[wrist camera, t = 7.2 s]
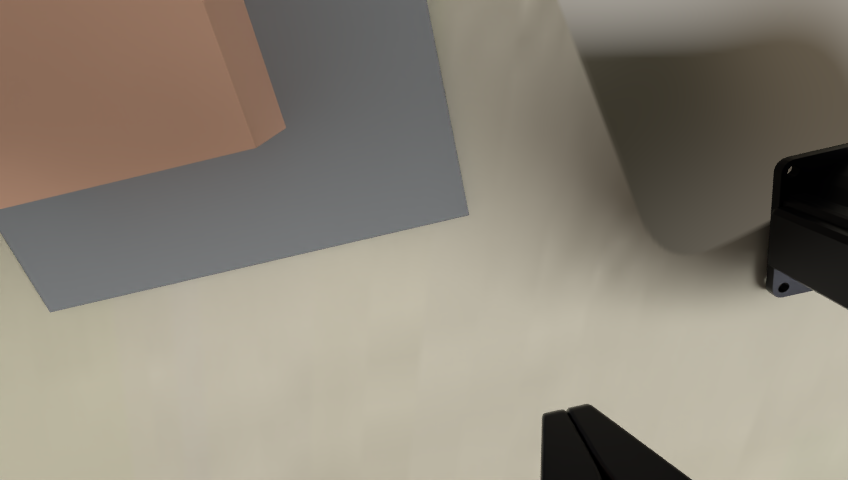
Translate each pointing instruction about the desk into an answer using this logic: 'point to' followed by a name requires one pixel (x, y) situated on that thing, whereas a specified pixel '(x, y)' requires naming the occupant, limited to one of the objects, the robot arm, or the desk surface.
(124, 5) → the terracotta block
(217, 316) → the desk surface
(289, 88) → the rubber mat
